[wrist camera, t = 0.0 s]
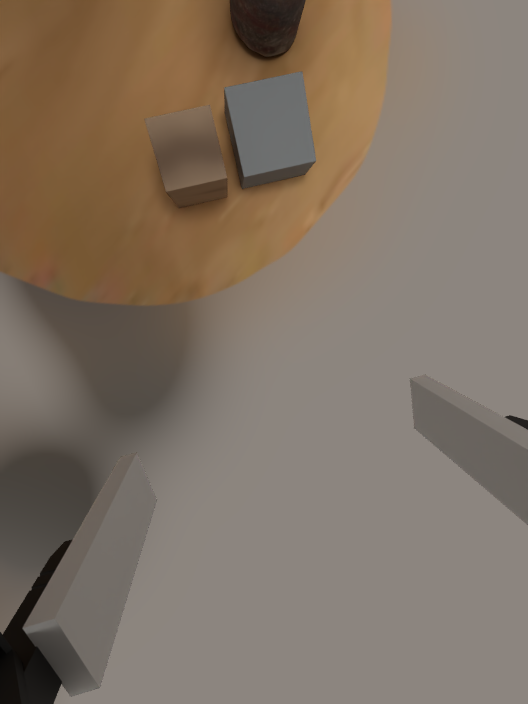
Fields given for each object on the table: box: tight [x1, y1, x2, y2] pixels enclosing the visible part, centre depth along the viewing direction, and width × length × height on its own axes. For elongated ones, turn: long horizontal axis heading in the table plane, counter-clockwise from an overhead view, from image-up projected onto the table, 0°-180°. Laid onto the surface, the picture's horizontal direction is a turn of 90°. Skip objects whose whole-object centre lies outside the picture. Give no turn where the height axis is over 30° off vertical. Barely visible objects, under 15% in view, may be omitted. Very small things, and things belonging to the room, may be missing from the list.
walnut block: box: [145, 105, 227, 208], centre depth 31 cm, size 6×6×8 cm
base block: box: [224, 72, 316, 189], centre depth 33 cm, size 8×8×5 cm
